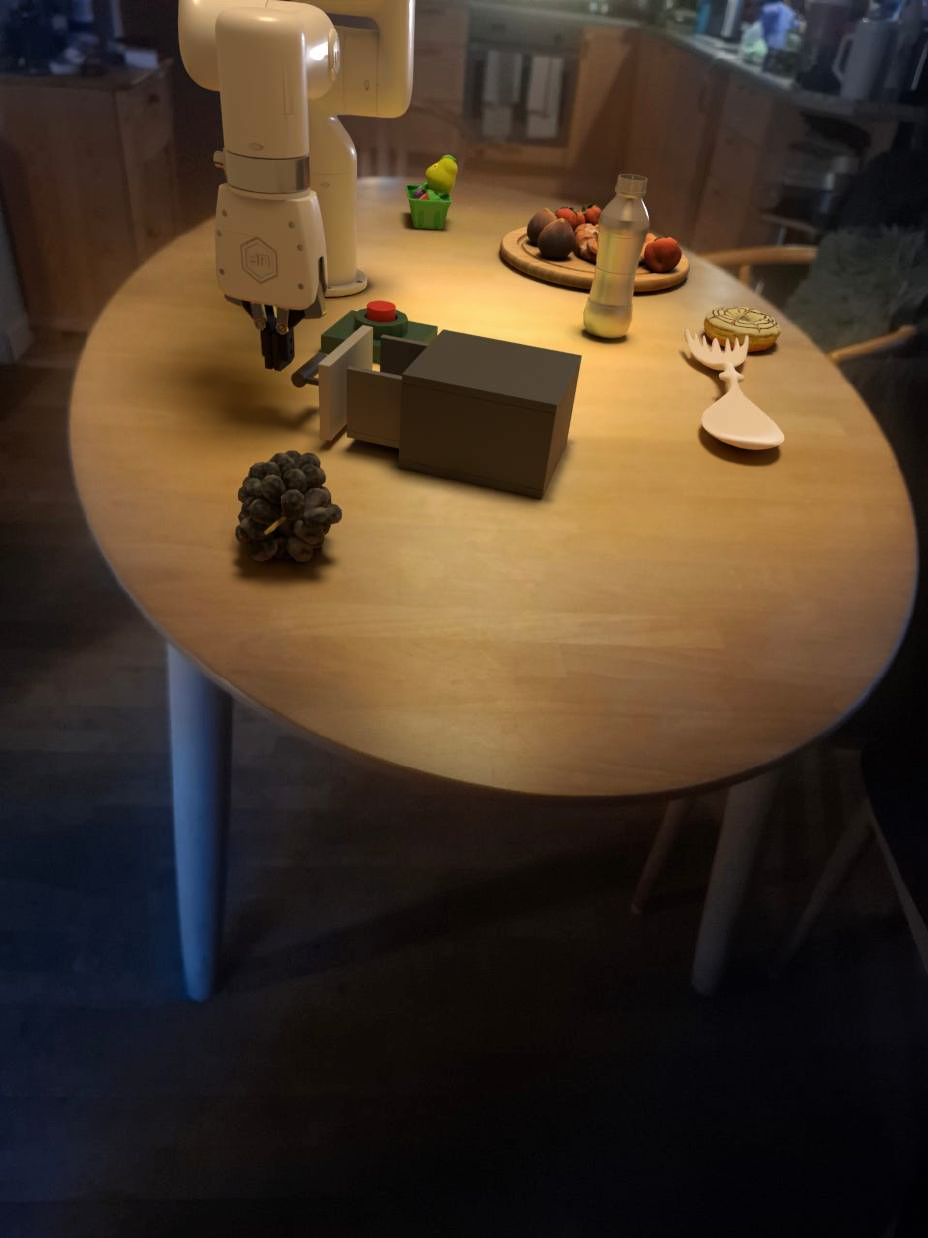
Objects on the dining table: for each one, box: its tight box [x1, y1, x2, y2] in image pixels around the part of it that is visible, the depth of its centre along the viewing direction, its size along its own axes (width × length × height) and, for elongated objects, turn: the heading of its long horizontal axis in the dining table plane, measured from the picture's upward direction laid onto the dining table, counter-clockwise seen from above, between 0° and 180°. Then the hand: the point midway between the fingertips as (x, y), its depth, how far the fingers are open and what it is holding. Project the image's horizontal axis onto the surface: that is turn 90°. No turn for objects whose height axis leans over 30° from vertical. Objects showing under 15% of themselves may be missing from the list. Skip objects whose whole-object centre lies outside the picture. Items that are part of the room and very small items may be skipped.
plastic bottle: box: [582, 173, 651, 339], centre depth 113 cm, size 6×7×20 cm
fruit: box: [234, 449, 343, 563], centre depth 73 cm, size 9×8×15 cm
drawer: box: [290, 325, 430, 449], centre depth 88 cm, size 18×12×8 cm, turn 74°
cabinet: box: [397, 329, 583, 500], centre depth 86 cm, size 15×13×10 cm
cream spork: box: [683, 327, 785, 451], centre depth 104 cm, size 9×32×4 cm, turn 174°
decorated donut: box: [703, 306, 782, 353], centre depth 121 cm, size 10×11×4 cm
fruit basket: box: [405, 154, 459, 230], centre depth 154 cm, size 11×9×11 cm
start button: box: [366, 300, 397, 322], centre depth 107 cm, size 4×4×2 cm
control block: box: [320, 307, 439, 365], centre depth 108 cm, size 12×10×4 cm
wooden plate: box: [499, 203, 691, 293], centre depth 143 cm, size 32×32×8 cm
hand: (278, 365), depth 90 cm, fingers closed
